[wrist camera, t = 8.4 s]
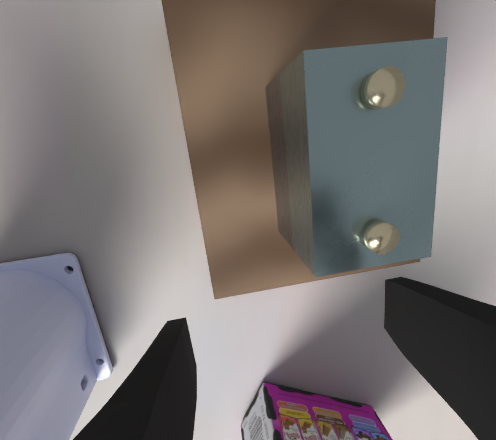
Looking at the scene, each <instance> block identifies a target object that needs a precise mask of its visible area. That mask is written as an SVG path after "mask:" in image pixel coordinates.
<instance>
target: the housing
mask: <svg viewBox="0 0 496 440" xmlns="http://www.w3.org/2000/svg"><path fill="white" fill-rule="evenodd" d="M446 49H447V37H445V38H434V39H423V40H412V41H401V42H390V43H379V44H368V45H357V46H346V47H336V48H325V49H314V50H303V51H302V52H301V53H300V54H299V55H298V56H297V57H296V58H295V59H294V60H293V61H292V62H291V63H290V64H289V65H288V66H287V67H286V68H285V69H284V70H283V71H282V72H281V73H280V74H279V75H278V76H277V77H276V78H275V79H274V80H273V81H272V82H271V83H270V84H269V85H268V86H267V87H266V88H265V89H266V100H267V111H268V122H269V133H270V144H271V155H272V166H273V177H274V187H275V198H276V209H277V220H278V231H279V233H280V234H281V235H282V236H283V238H284V239H285V240H286V241H287V242H288V244H289V245H290V246H291V247H292V249H293V250H294V251H295V252H296V254H297V255H298V256H299V257H300V259H301V260H302V261H303V262H304V263H305V265H306V266H307V267H308V268H309V270H310V271H311V272H312V273H313V275H314V276H315V277H320V276H325V275H331V274H336V273H342V272H347V271H353V270H358V269H364V268H370V267H375V266H381V265H386V264H392V263H397V262H403V261H408V260H414V259H420V258H425V257H431V248H432V235H433V222H434V208H435V195H436V182H437V169H438V155H439V142H440V129H441V116H442V102H443V89H444V76H445V62H446Z"/></svg>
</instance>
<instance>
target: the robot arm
mask: <svg viewBox="0 0 496 440" xmlns="http://www.w3.org/2000/svg"><path fill="white" fill-rule="evenodd" d="M67 266H71V267H72V268H73V271H70V270H68V268H67ZM384 328H385V329H386V331H387V332H388V334H389V335H390V337H391V338H392V340H393V341H394V343H395V344H396V345H397V347H398V348H399V349H400V351H401V352H402V354H403V355H404V356H405V357H406V358H407V359H408V360H409V361H410V363H411V364H412V365H413V366H414V367H415V368H416V369H417V370H418V372H419V373H420V374H421V375H422V376H423V377H424V378H425V379H426V380H427V381H428V383H429V384H430V385H431V386H432V387H433V388H434V389H435V390H436V391H437V392H438V394H439V395H440V396H441V397H442V398H443V399H444V400H445V401H446V402H447V403H448V405H449V406H450V407H451V408H452V409H453V410H454V411H455V412H456V413H457V414H458V416H459V417H460V418H461V419H462V420H463V421H464V423H465V424H466V425H467V426H468V427H469V428H470V430H471V431H472V432H473V433H474V435H475V436H476V437H477V439H478V440H496V306H493V305H490V304H486V303H483V302H480V301H477V300H474V299H470V298H467V297H464V296H461V295H458V294H455V293H452V292H449V291H446V290H443V289H440V288H437V287H434V286H431V285H428V284H425V283H421V282H418V281H415V280H411V279H408V278H403V277H398V278H393V279H388V280H385V318H384ZM99 359H103V361H100V360H99ZM112 371H113V367H112V364H111V361H110V358H109V355H108V352H107V349H106V346H105V343H104V339H103V336H102V333H101V330H100V327H99V324H98V321H97V318H96V315H95V312H94V308H93V305H92V302H91V299H90V296H89V293H88V290H87V287H86V284H85V281H84V277H83V274H82V271H81V268H80V265H79V262H78V259H77V257H76V256H75V255H74V254H72V253H62V254H55V255H49V256H43V257H36V258H30V259H24V260H18V261H11V262H5V263H0V440H69V438H70V436H71V434H72V432H73V430H74V428H75V426H76V424H77V421H78V419H79V417H80V415H81V413H82V411H83V409H84V407H85V404H86V402H87V400H88V398H89V396H90V394H91V392H92V389H93V387H94V385H95V383H96V381H97V380H101V379H106V378H109V377H110V376H111V374H112ZM196 400H197V371H196V362H195V358H194V353H193V348H192V344H191V339H190V334H189V330H188V325H187V321H186V318H181V319H176V320H171V321H167V323H166V324H165V325H164V327H163V328H162V329H161V331H160V332H159V334H158V335H157V337H156V338H155V340H154V341H153V343H152V344H151V345H150V347H149V348H148V350H147V351H146V353H145V354H144V355H143V357H142V358H141V359H140V361H139V362H138V364H137V365H136V366H135V368H134V369H133V370H132V372H131V373H130V374H129V376H128V377H127V378H126V379H125V381H124V382H123V383H122V384H121V386H120V387H119V388H118V389H117V391H116V392H115V393H114V394H113V396H112V397H111V398H110V399H109V401H108V402H107V403H106V404H105V405H104V406H103V407H102V409H101V410H100V411H99V412H98V413H97V414H96V415H95V416H94V418H93V419H92V420H91V421H90V422H89V423H88V424H87V425H86V426H85V427H84V428H83V429H82V430H81V432H80V433H79V434H78V435H77V436H76V437H75V438H74V439H73V440H193V431H194V421H195V411H196Z"/></svg>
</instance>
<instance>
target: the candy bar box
mask: <svg viewBox="0 0 496 440" xmlns="http://www.w3.org/2000/svg"><path fill="white" fill-rule="evenodd" d="M241 432H242V440H392V438H391V437H390V435H389V433H388V432H387V430H386V428H385V427H384V425H383V424H382V422H381V421H380V419H379V417H378V416H377V414H376V412H375V411H374V409H373V407H371V406H368V405H364V404H359V403H355V402H351V401H346V400H341V399H337V398H332V397H327V396H323V395H318V394H313V393H309V392H304V391H299V390H294V389H290V388H285V387H281V386H276V385H272V384H268V383H262V385H261V387H260V388H259V390H258V392H257V394H256V397H255V399H254V401H253V402H252V404H251V406H250V408H249V410H248V411H247V413H246V415H245V417H244V419H243V421H242V424H241Z"/></svg>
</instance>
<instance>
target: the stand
mask: <svg viewBox="0 0 496 440" xmlns="http://www.w3.org/2000/svg"><path fill="white" fill-rule="evenodd" d="M435 1H436V0H162V6H163V11H164V17H165V22H166V28H167V34H168V39H169V45H170V51H171V56H172V62H173V68H174V73H175V79H176V84H177V90H178V96H179V101H180V107H181V113H182V118H183V124H184V130H185V135H186V141H187V147H188V152H189V158H190V163H191V169H192V175H193V180H194V186H195V192H196V197H197V203H198V209H199V214H200V220H201V225H202V231H203V237H204V242H205V248H206V254H207V259H208V265H209V271H210V276H211V282H212V287H213V293H214V299H219V298H224V297H230V296H235V295H241V294H246V293H252V292H257V291H262V290H268V289H273V288H279V287H284V286H290V285H295V284H300V283H306V282H311V281H317V280H322V279H328V278H333V277H338V276H344V275H349V274H355V273H360V272H366V271H371V270H376V269H382V268H387V267H393V266H398V265H404V264H409V263H414V262H420V259H414V260H408V261H403V262H397V263H392V264H386V265H381V266H375V267H370V268H364V269H358V270H353V271H347V272H342V273H336V274H331V275H325V276H320V277H315V276H314V275H313V273H312V272H311V271H310V270H309V268H308V267H307V266H306V265H305V263H304V262H303V261H302V260H301V259H300V257H299V256H298V255H297V254H296V252H295V251H294V250H293V249H292V247H291V246H290V245H289V244H288V242H287V241H286V240H285V239H284V238H283V236H282V235H281V234H280V233H279V231H278V220H277V209H276V198H275V187H274V177H273V166H272V155H271V144H270V133H269V122H268V111H267V100H266V89H265V88H266V87H267V86H268V85H269V84H270V83H271V82H272V81H273V80H274V79H275V78H276V77H277V76H278V75H279V74H280V73H281V72H282V71H283V70H284V69H285V68H286V67H287V66H288V65H289V64H290V63H291V62H292V61H293V60H294V59H295V58H296V57H297V56H298V55H299V54H300V53H301V52H302V51H303V50H314V49H325V48H336V47H346V46H357V45H368V44H379V43H390V42H401V41H412V40H423V39H433V34H434V18H435Z"/></svg>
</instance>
